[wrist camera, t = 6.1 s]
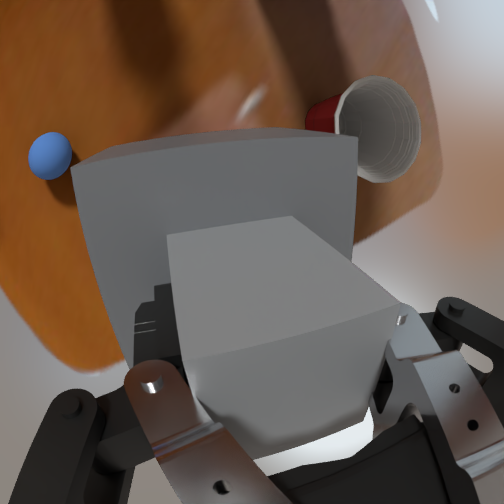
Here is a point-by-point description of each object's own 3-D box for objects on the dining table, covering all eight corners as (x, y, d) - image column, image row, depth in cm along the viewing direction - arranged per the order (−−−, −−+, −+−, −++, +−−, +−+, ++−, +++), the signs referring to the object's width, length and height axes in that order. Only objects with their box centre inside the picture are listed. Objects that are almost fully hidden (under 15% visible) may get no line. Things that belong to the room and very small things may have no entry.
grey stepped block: (276, 127, 18) (492, 169, 5) (279, 270, 23) (405, 429, 10) (111, 146, 16) (-29, 232, 3) (140, 295, 20) (151, 507, 7)
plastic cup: (290, 74, 32) (347, 59, 21) (361, 95, 35) (426, 95, 25) (278, 159, 36) (330, 175, 25) (349, 170, 39) (411, 190, 29)
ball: (75, 127, 27) (62, 128, 23) (79, 171, 29) (67, 178, 25) (36, 136, 26) (19, 139, 21) (40, 179, 28) (24, 188, 23)
